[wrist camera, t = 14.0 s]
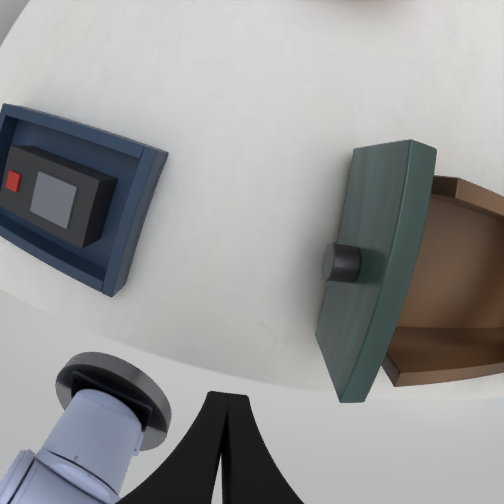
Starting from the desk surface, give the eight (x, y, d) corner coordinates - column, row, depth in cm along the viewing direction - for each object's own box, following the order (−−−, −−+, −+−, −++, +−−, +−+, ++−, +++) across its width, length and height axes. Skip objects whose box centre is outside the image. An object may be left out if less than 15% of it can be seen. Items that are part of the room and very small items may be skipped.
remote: (100, 239, 15) (79, 250, 13) (19, 199, 14) (-5, 205, 12) (118, 178, 14) (97, 180, 12) (32, 145, 14) (7, 145, 11)
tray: (169, 152, 15) (157, 150, 13) (125, 284, 16) (112, 298, 15) (21, 106, 13) (3, 103, 11) (-5, 215, 15) (-23, 221, 13)
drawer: (294, 333, 16) (312, 403, 11) (330, 142, 14) (378, 128, 8) (507, 336, 17) (546, 370, 12) (542, 218, 14) (592, 235, 9)
